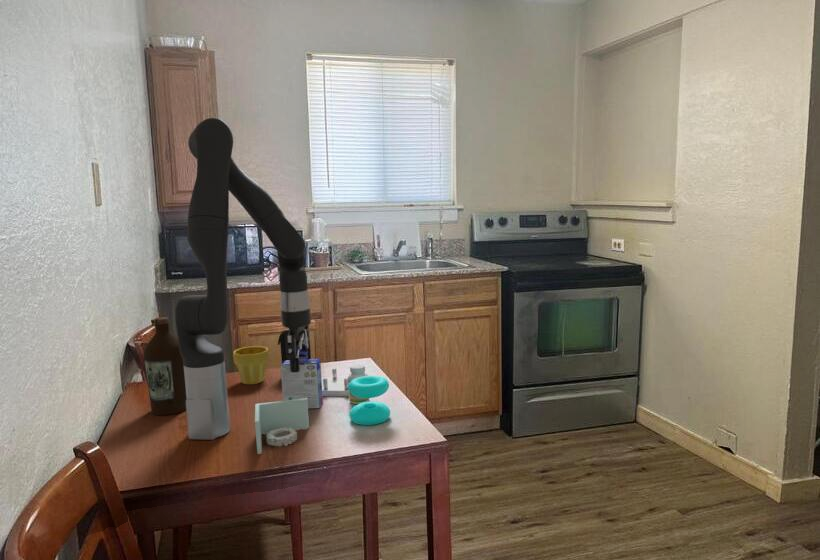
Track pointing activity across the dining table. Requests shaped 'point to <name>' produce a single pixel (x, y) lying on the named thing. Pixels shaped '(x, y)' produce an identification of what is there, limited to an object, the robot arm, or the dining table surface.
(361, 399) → the supplement bottle
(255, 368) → the plant pot
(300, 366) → the ink cartridge box
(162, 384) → the olive oil
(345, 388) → the pin tray
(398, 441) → the dining table surface
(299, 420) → the right angle wall
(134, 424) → the dining table surface
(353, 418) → the donuts
